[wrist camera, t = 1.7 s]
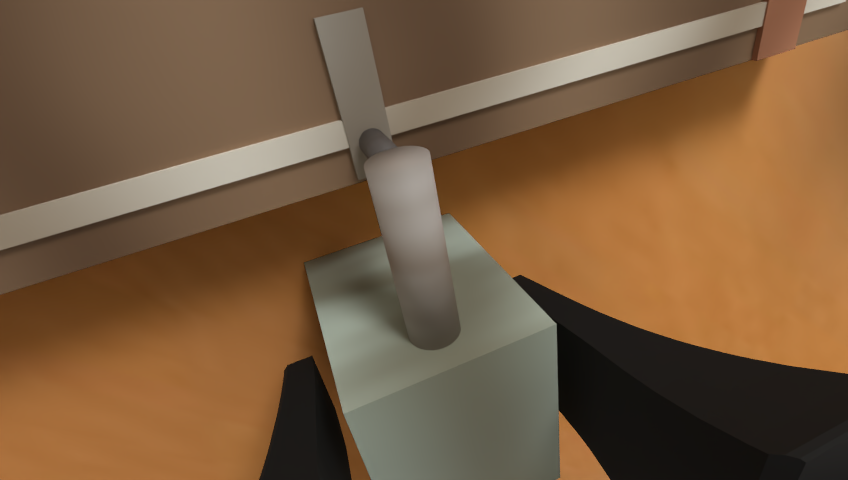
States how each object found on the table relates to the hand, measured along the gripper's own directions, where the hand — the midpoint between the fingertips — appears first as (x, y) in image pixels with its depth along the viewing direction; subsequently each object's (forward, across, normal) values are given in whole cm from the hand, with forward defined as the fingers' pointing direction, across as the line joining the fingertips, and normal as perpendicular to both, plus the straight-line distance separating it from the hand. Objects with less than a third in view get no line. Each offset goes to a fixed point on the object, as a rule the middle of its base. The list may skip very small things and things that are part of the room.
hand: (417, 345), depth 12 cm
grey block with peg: (+2, 0, -2) cm, 2 cm away
